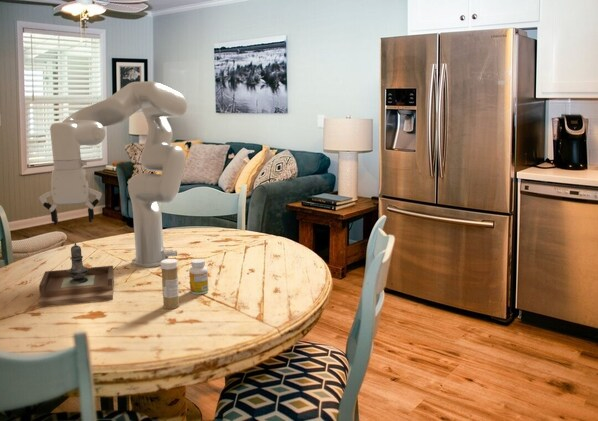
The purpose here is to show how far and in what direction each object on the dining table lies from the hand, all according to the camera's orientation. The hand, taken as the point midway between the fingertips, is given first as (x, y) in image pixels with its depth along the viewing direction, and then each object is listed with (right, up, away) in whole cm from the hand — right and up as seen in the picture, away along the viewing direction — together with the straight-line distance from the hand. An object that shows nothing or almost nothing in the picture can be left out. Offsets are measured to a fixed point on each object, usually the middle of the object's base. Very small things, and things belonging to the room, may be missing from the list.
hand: (73, 222), depth 176 cm
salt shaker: (0, -18, +4) cm, 18 cm away
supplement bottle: (+37, -21, +3) cm, 43 cm away
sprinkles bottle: (+31, -24, -9) cm, 40 cm away
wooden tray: (+1, -21, +3) cm, 21 cm away
